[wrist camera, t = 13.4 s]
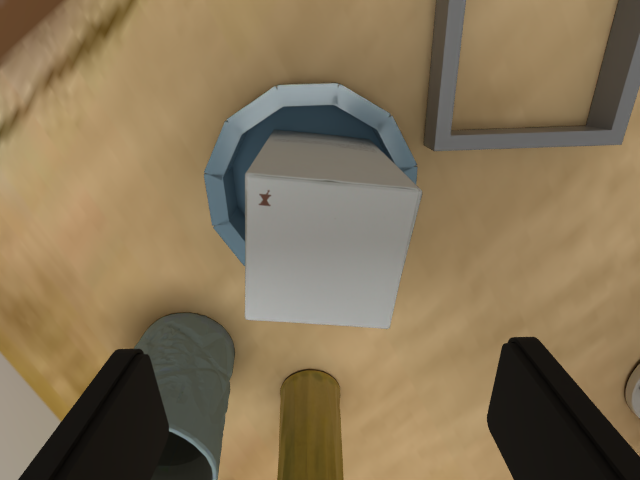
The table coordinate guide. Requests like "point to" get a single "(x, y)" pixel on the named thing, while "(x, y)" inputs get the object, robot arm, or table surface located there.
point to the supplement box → (325, 231)
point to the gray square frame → (601, 129)
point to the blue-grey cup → (191, 392)
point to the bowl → (299, 116)
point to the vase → (310, 428)
